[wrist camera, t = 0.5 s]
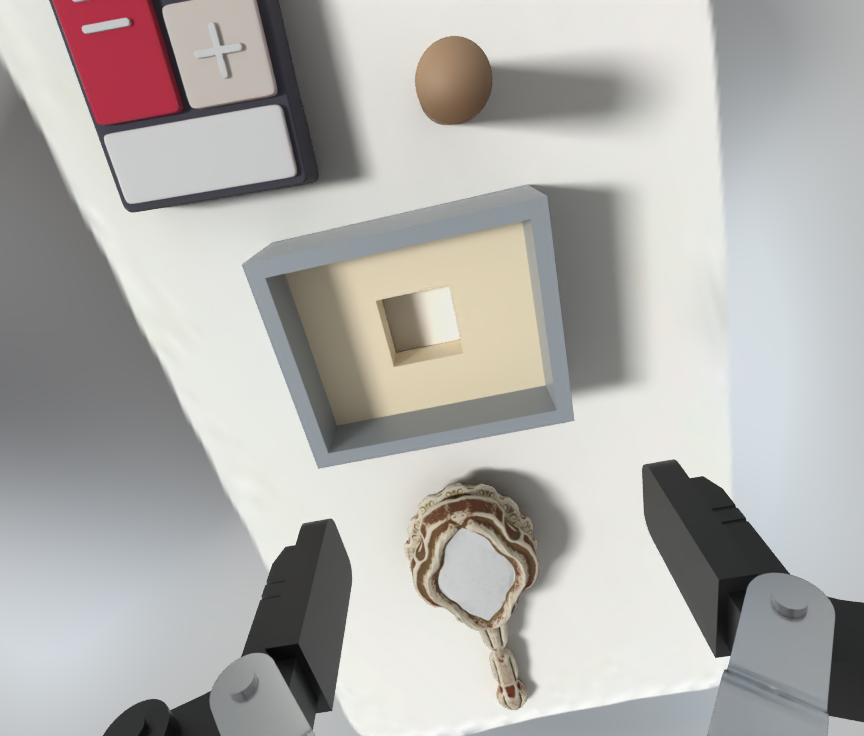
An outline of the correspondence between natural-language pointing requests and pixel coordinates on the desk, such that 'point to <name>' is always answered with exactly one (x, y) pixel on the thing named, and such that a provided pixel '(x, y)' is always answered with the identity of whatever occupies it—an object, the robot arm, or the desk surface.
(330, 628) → the robot arm
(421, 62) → the peg
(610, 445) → the desk surface
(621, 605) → the desk surface
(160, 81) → the calculator
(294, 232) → the desk surface
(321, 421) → the grey open box
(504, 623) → the hand mirror
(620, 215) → the desk surface
